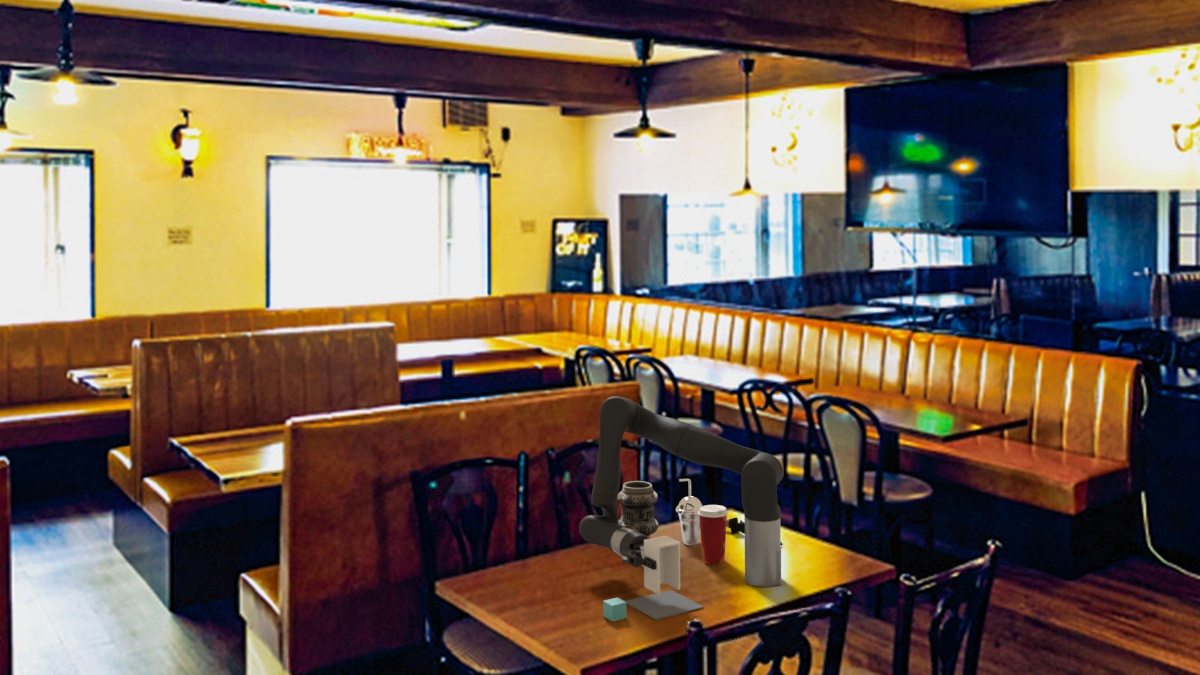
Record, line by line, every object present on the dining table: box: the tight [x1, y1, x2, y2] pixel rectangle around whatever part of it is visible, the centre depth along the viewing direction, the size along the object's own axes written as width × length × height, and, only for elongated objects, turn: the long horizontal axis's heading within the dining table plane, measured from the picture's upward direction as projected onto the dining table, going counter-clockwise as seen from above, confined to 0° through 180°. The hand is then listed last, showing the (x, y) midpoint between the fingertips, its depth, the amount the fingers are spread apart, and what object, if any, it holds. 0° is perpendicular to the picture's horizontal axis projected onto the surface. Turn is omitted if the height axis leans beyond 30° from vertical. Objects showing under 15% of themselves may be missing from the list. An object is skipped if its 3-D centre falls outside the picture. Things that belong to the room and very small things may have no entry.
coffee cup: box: [698, 504, 729, 565], centre depth 298 cm, size 8×8×15 cm
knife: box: [726, 516, 784, 546], centre depth 321 cm, size 31×3×4 cm, turn 37°
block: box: [602, 597, 627, 622], centre depth 259 cm, size 4×4×4 cm
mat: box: [624, 589, 704, 621], centre depth 266 cm, size 14×14×1 cm
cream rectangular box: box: [643, 534, 681, 595], centre depth 265 cm, size 6×6×12 cm
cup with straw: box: [675, 478, 703, 546], centre depth 314 cm, size 8×9×20 cm
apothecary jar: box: [617, 480, 659, 537], centre depth 314 cm, size 12×12×18 cm
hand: (667, 563), depth 263 cm, fingers closed on cream rectangular box, 6 cm apart
